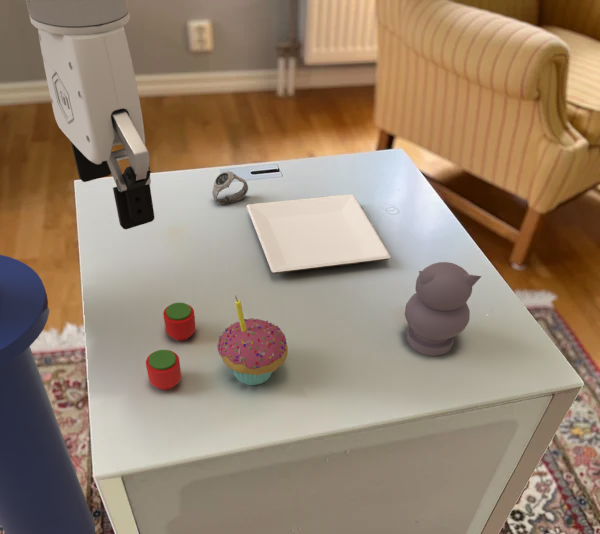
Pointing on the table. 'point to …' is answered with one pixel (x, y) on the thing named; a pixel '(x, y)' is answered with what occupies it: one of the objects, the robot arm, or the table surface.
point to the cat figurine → (438, 308)
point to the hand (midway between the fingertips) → (116, 199)
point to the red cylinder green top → (163, 369)
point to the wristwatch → (224, 182)
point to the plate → (315, 233)
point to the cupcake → (252, 348)
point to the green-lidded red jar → (179, 321)
